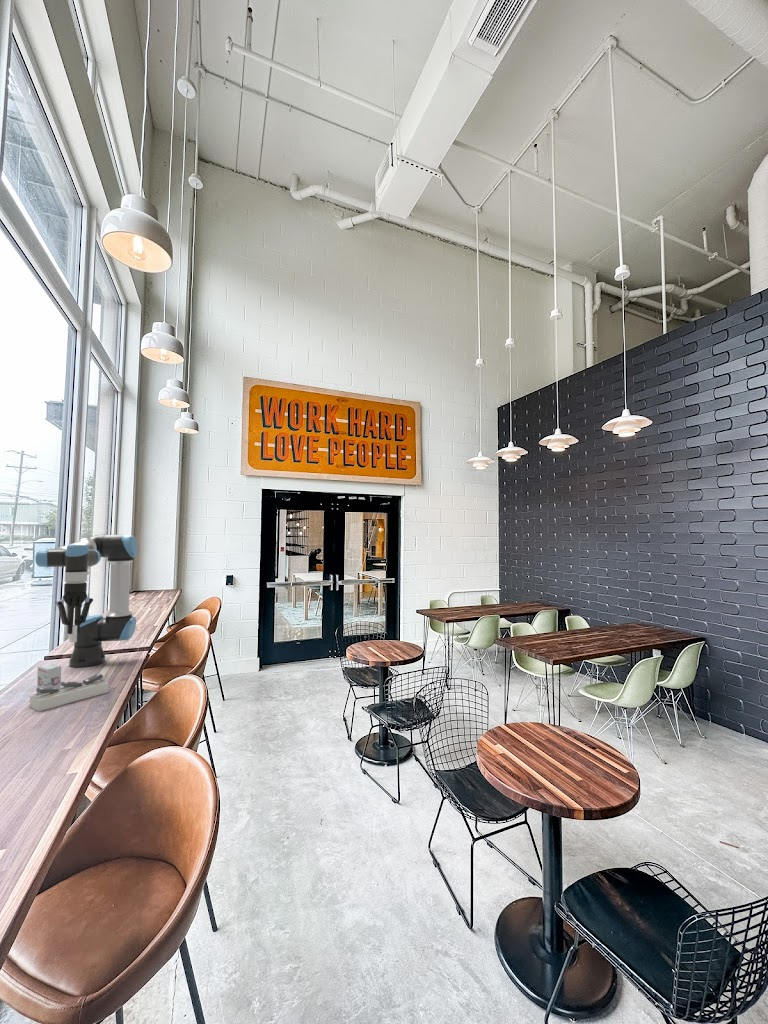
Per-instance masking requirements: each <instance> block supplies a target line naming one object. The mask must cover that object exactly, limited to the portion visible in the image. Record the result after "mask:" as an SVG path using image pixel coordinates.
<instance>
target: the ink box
mask: <svg viewBox="0 0 768 1024" xmlns="http://www.w3.org/2000/svg"><path fill="white" fill-rule="evenodd" d="M36 680H37V681H36V682H37V685H36V687H37V688H52V687H55V688H61V687H62V686H61V682H62V666H61V665H60V664H57V663H53V662H50V663H46V664H42V665H39V666H37V679H36ZM37 688H36V689H37ZM37 693H39V692H37ZM37 693H36V694H37Z"/></svg>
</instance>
